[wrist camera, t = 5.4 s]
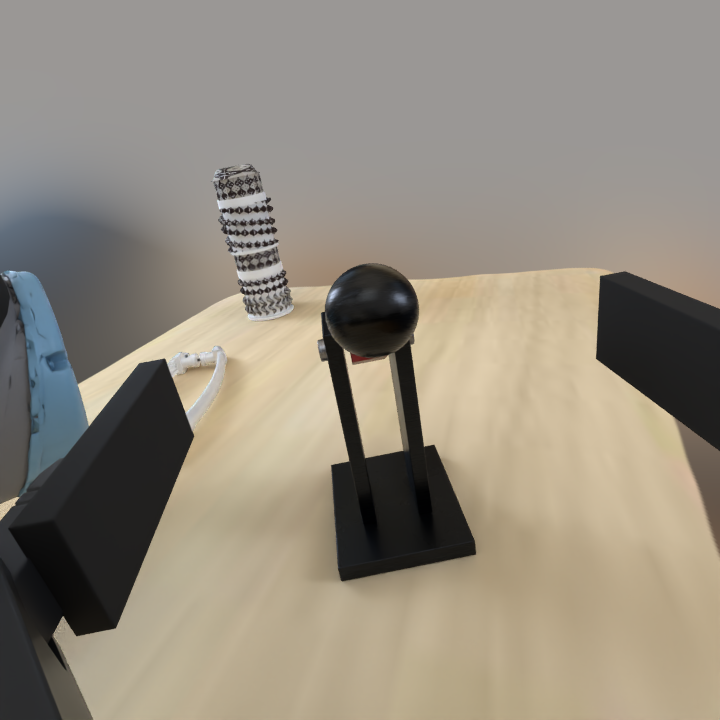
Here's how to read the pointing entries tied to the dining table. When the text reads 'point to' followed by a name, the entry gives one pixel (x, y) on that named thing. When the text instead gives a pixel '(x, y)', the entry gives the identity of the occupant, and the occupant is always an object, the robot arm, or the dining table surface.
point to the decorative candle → (252, 242)
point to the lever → (371, 311)
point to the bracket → (391, 484)
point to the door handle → (207, 397)
